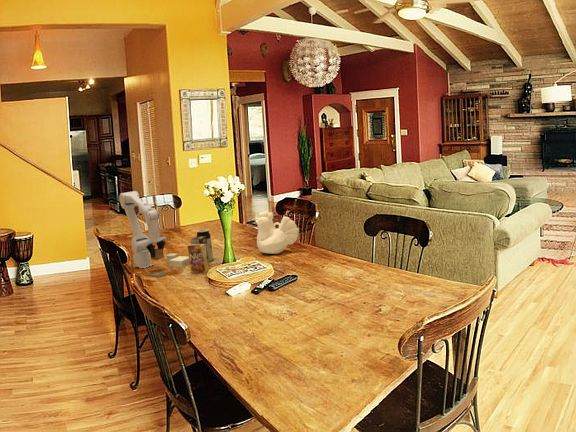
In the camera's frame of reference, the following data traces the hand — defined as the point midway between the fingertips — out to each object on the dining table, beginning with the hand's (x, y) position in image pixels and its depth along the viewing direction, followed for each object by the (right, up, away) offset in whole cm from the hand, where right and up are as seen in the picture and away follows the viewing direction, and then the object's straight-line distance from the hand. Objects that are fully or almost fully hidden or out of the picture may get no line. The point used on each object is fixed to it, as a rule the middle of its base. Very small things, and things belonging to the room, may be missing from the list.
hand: (157, 255), depth 299 cm
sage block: (+5, -5, +17) cm, 18 cm away
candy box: (+25, -8, -9) cm, 28 cm away
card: (+2, -10, -7) cm, 12 cm away
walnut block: (0, -1, 0) cm, 2 cm away
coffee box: (+24, -6, +4) cm, 25 cm away
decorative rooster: (+67, 0, +17) cm, 69 cm away
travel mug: (+25, -4, +15) cm, 29 cm away
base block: (+12, -6, +10) cm, 16 cm away
